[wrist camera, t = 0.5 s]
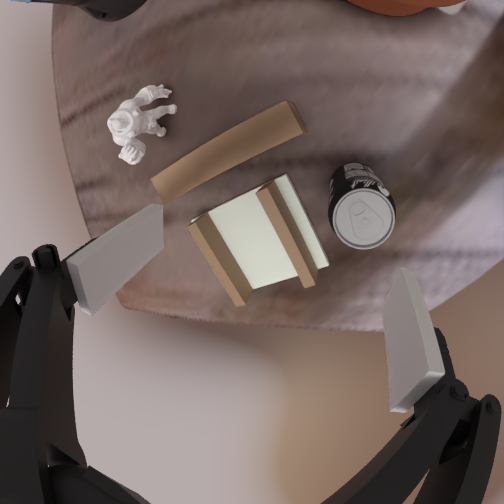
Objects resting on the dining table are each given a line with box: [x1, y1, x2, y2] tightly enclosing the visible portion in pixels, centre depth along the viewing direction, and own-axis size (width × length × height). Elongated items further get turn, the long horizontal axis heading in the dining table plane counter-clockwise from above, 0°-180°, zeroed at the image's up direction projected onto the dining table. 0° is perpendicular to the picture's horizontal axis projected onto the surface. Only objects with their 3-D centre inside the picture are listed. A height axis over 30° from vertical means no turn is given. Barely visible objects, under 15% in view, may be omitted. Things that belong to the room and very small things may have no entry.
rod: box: [151, 101, 308, 205], centre depth 32 cm, size 4×20×6 cm, turn 118°
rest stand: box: [187, 173, 329, 307], centre depth 38 cm, size 14×16×5 cm
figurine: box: [107, 84, 177, 165], centre depth 30 cm, size 10×5×12 cm, turn 12°
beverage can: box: [328, 163, 396, 249], centre depth 27 cm, size 7×7×12 cm
